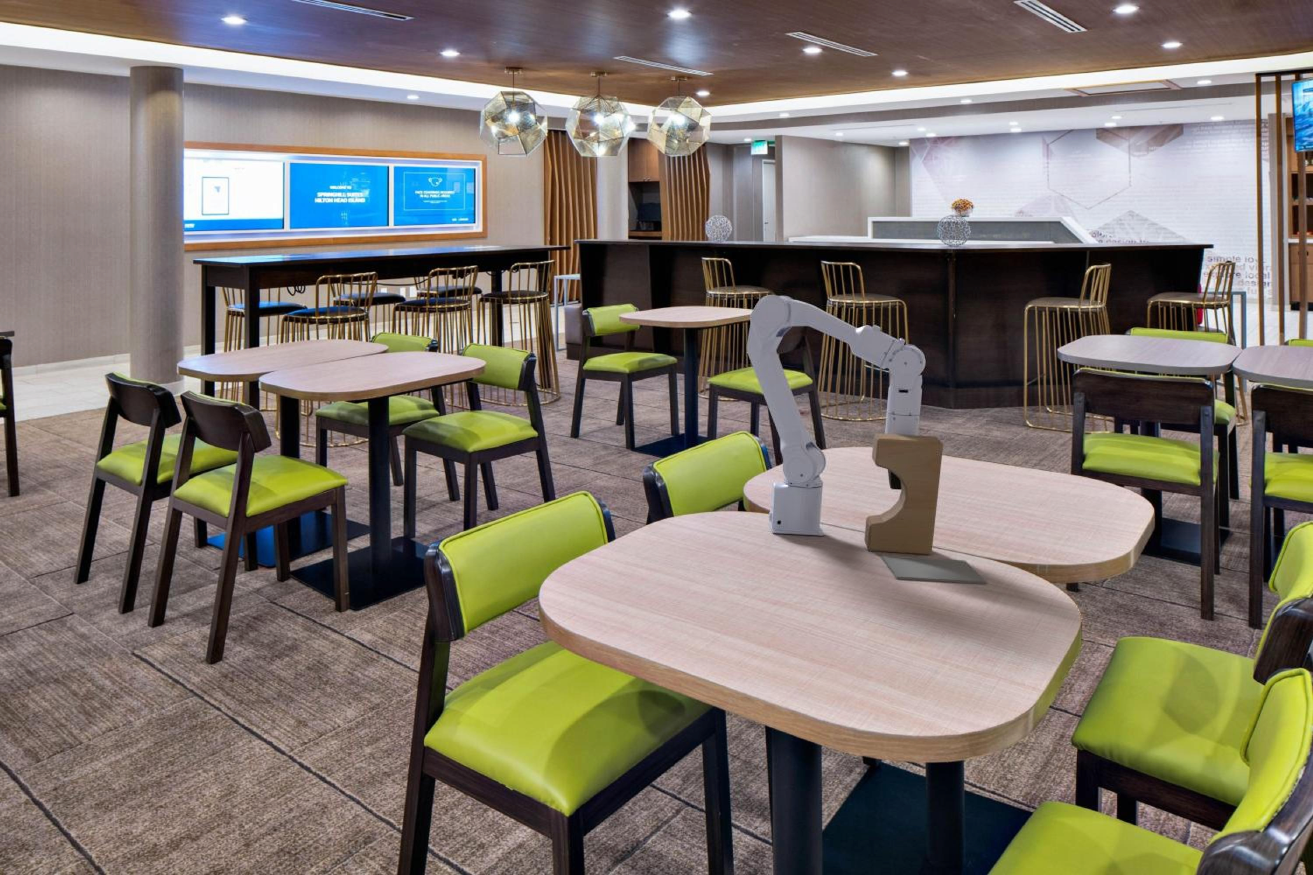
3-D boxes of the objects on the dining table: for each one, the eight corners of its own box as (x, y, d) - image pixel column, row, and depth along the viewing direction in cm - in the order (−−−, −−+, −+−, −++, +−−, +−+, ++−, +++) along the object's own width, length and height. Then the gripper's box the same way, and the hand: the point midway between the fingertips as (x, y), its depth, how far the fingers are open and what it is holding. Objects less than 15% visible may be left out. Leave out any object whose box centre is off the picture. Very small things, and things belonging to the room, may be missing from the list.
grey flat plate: (896, 578, 148) (896, 576, 148) (881, 558, 160) (881, 555, 160) (986, 584, 148) (986, 581, 148) (964, 562, 160) (965, 560, 160)
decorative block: (866, 551, 164) (877, 438, 160) (863, 541, 170) (873, 432, 166) (932, 556, 163) (944, 443, 159) (926, 546, 168) (938, 436, 164)
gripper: (936, 420, 160) (929, 498, 162) (916, 410, 174) (909, 482, 176) (894, 418, 160) (887, 496, 162) (877, 408, 175) (871, 480, 177)
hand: (896, 488), depth 169 cm, fingers closed
